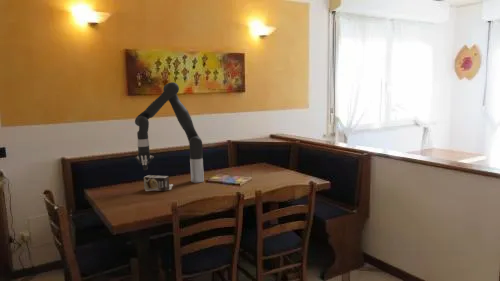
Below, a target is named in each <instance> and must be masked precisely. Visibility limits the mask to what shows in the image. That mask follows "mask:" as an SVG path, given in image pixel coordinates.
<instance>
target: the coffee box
mask: <svg viewBox="0 0 500 281" xmlns="http://www.w3.org/2000/svg"><path fill="white" fill-rule="evenodd" d="M143 184H144V185H143V188H144V190H145V191H146V190H156V191H158V192H159V191H160V192H166V191H169V190H168V189H169V184H170V177H169V175H155V174H154V175H152V174H148V175H146V176H144V177H143Z"/></svg>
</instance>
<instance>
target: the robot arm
mask: <svg viewBox="0 0 500 281" xmlns="http://www.w3.org/2000/svg"><path fill="white" fill-rule="evenodd" d="M162 90H163V91H162V93H161V94H160V95H159V96H158V97H157V98H156V99H154V101H152V102H151V103H150V104H149V105H148V106H147V107H146V109H145V110H144V111H142V112H141V113H139V114H138V115H137V116H136V118H135V119H134V123H135V125H136V126H137V127H138V131H137V132H136V135H137V156H135V158H134V159H135V160H136V162H138V164H139V165H142V170H143V171H147V170H148V165H150V164H151V162H152V160H153V159H154V158H155V156H154V155H151V151H150V141H149V134H148V133H149V127H150V126H149V125H150V122H149V120H150V119H152V118H153V117H154V116H155V115H156V114H157V113H158V112H159V111H160V110H161V109H162V108H163V106H164V105H166V103H167V102H169V103H170V105H171V108H172V110H173V113H174V115H175V117H176V119H177V121H178V123H179V125H180V126H181V128H182V130H183V131H184V133H185V134H186V135H185V136H186V138H187V140H188V144H189V145H188V146H189V163H190V166H189V168H190V182H191V183H195V184H196V183H203V182H204V180H205V177H204V175H205V174H204V159H203V158H204V157H203V155H204V154H203V141H202V138H201V137H200V136H199V134H198V133H197V131H196V129H195V126H194V123H193V120H192V116H191V115H190V113H189V111H188V109H187V108H186V106H185V105H184V104H183V103H182V102H181V100H180V97H179V96H178V93H179V91H180V86H179V85H178V84H177V83H176V82H173V81H172V82H168V83H166V84H165V85H164V86H163V89H162Z"/></svg>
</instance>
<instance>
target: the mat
mask: <svg viewBox="0 0 500 281" xmlns="http://www.w3.org/2000/svg"><path fill="white" fill-rule="evenodd" d="M173 186H174V184H173V183H171V184H170V183H169V189H168V190H167V191H171V190H172V188H173ZM151 191H154V192H155V191H157V190H145V192H151Z"/></svg>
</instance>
